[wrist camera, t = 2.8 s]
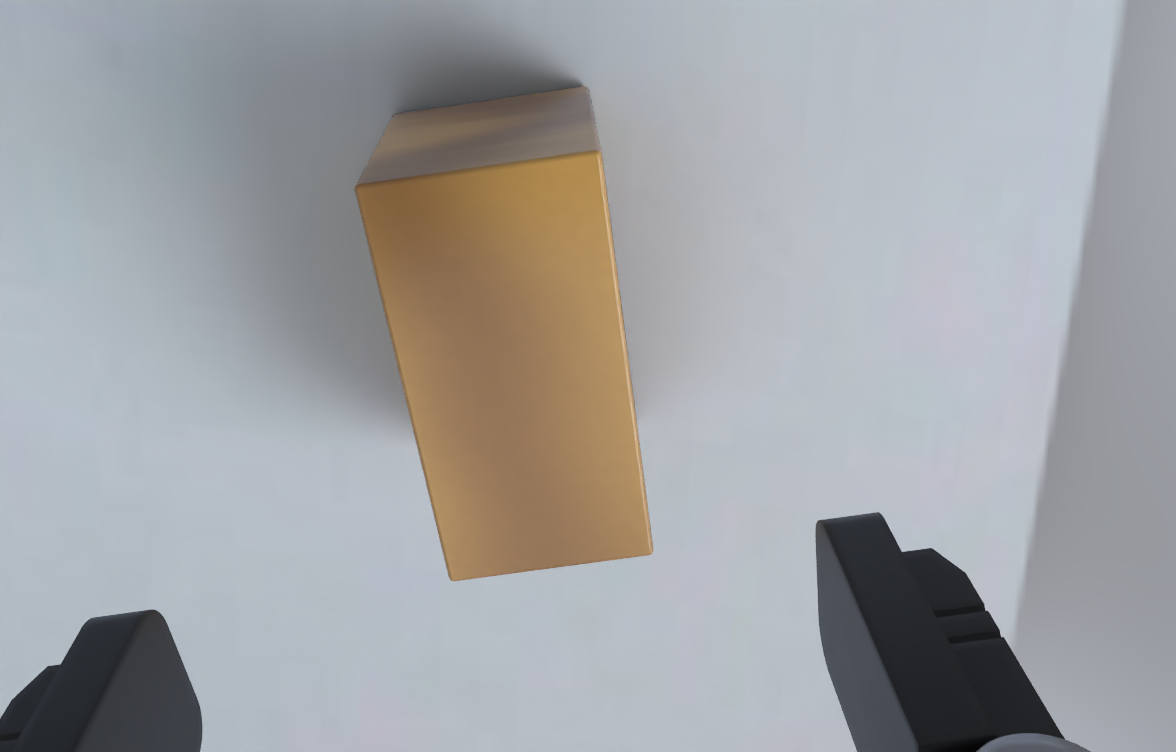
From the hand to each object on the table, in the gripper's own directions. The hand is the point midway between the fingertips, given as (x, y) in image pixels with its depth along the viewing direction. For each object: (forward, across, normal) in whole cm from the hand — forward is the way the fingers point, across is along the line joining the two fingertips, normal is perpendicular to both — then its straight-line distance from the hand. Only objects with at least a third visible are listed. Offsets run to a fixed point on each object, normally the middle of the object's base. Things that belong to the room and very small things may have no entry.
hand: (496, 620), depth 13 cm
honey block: (+11, 0, 0) cm, 11 cm away
